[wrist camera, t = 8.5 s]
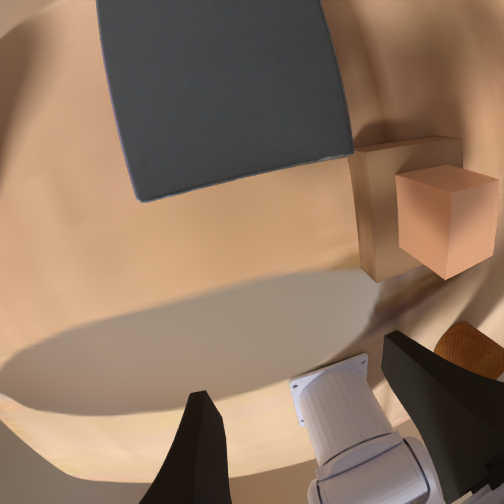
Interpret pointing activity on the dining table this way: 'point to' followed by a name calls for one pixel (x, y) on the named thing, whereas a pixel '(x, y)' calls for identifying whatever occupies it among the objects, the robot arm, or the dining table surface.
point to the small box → (221, 90)
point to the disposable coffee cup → (472, 351)
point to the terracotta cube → (447, 217)
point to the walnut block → (391, 197)
